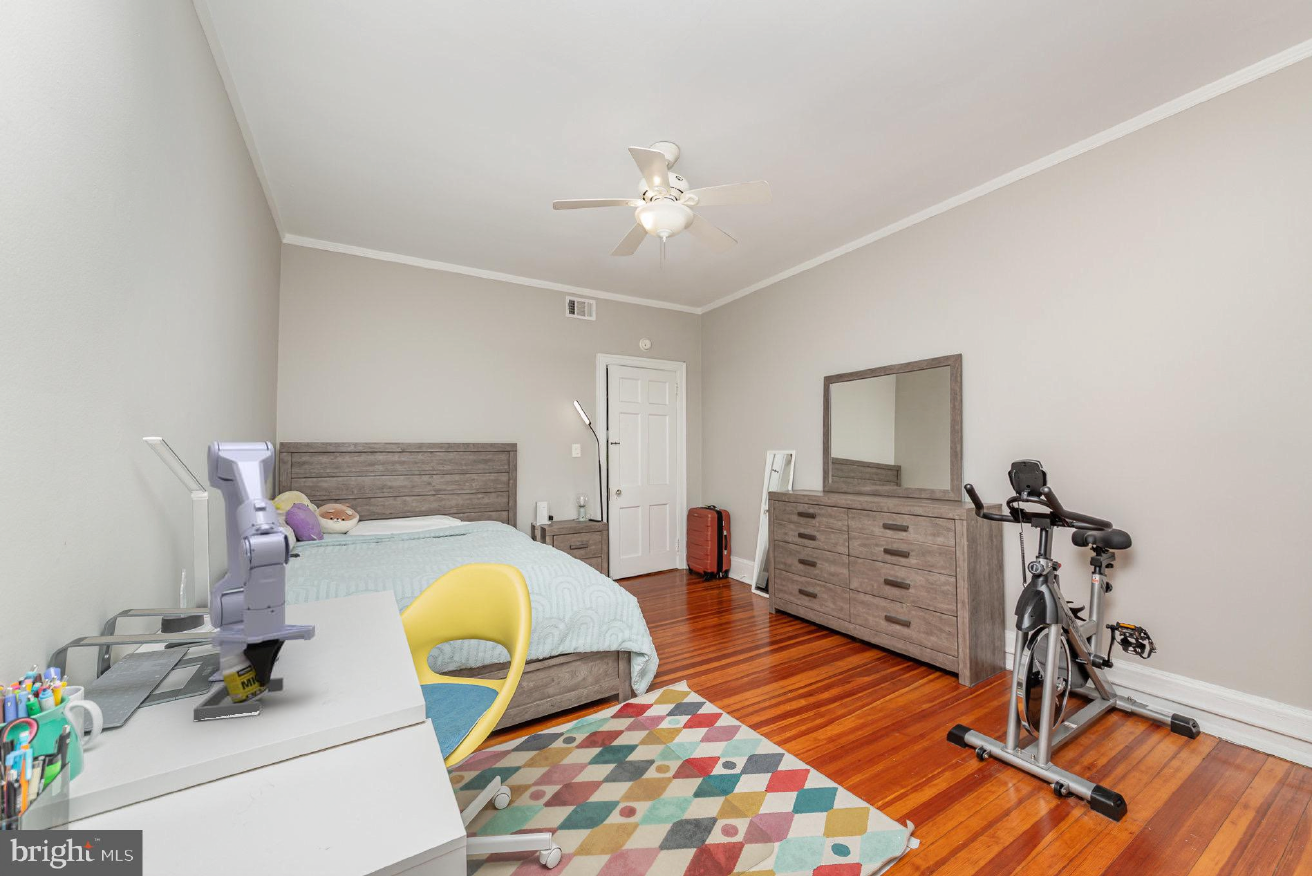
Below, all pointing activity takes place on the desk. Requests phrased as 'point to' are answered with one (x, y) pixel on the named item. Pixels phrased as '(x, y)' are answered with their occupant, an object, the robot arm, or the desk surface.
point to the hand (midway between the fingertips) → (264, 684)
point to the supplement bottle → (241, 678)
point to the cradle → (213, 710)
